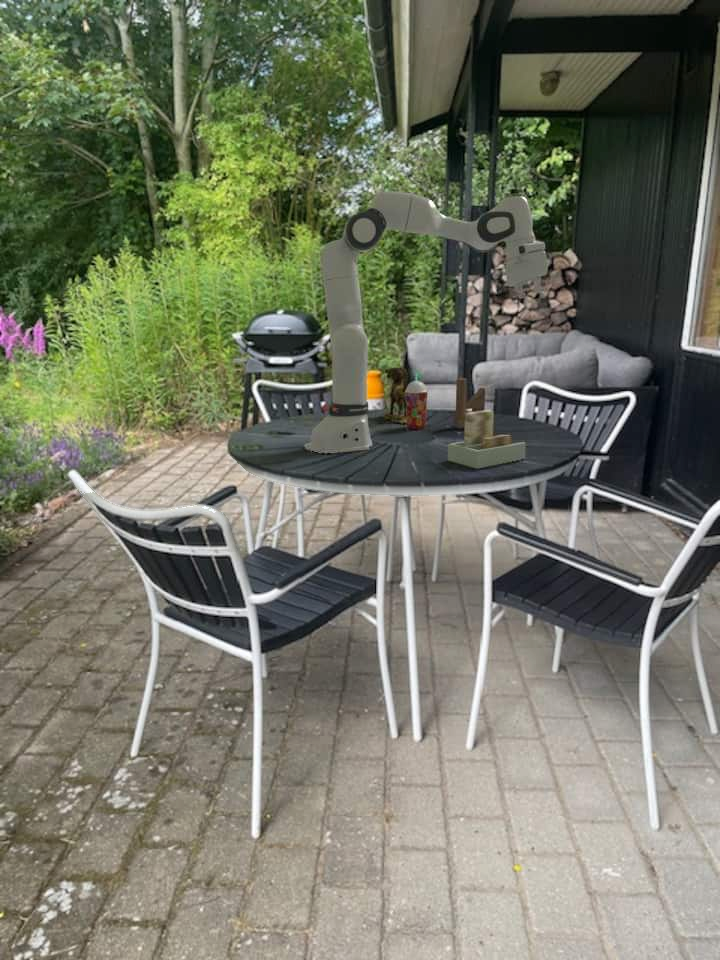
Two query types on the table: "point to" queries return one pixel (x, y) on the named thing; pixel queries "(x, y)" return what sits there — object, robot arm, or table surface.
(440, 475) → the table surface
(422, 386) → the smoothie
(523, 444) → the rack
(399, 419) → the figurine
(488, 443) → the offcut stack
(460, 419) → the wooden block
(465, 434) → the beige brown rectangular slab
